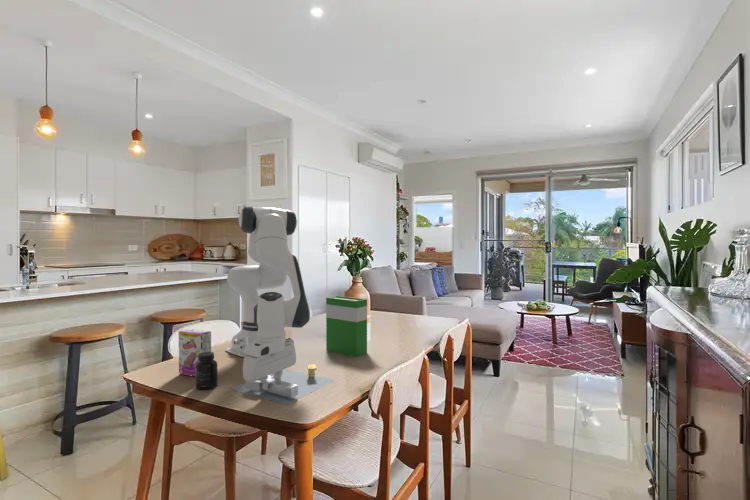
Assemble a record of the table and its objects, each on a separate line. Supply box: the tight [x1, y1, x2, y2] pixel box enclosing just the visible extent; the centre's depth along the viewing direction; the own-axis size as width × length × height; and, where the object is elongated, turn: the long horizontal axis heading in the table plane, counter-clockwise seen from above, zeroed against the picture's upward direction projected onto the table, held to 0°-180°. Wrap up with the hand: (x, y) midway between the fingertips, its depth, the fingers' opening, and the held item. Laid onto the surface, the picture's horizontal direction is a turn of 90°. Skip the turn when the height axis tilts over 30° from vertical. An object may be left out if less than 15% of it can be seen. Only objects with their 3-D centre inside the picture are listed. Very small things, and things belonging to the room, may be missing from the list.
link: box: [244, 375, 298, 398], centre depth 124 cm, size 18×6×3 cm, turn 60°
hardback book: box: [325, 295, 368, 358], centre depth 174 cm, size 18×7×24 cm, turn 54°
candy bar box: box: [178, 328, 212, 377], centre depth 144 cm, size 11×5×16 cm, turn 71°
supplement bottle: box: [195, 351, 219, 392], centre depth 130 cm, size 7×7×12 cm
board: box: [230, 368, 335, 406], centre depth 132 cm, size 25×24×1 cm
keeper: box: [306, 363, 318, 378], centre depth 138 cm, size 3×5×4 cm, turn 15°
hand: (271, 386), depth 124 cm, fingers closed on link, 3 cm apart
